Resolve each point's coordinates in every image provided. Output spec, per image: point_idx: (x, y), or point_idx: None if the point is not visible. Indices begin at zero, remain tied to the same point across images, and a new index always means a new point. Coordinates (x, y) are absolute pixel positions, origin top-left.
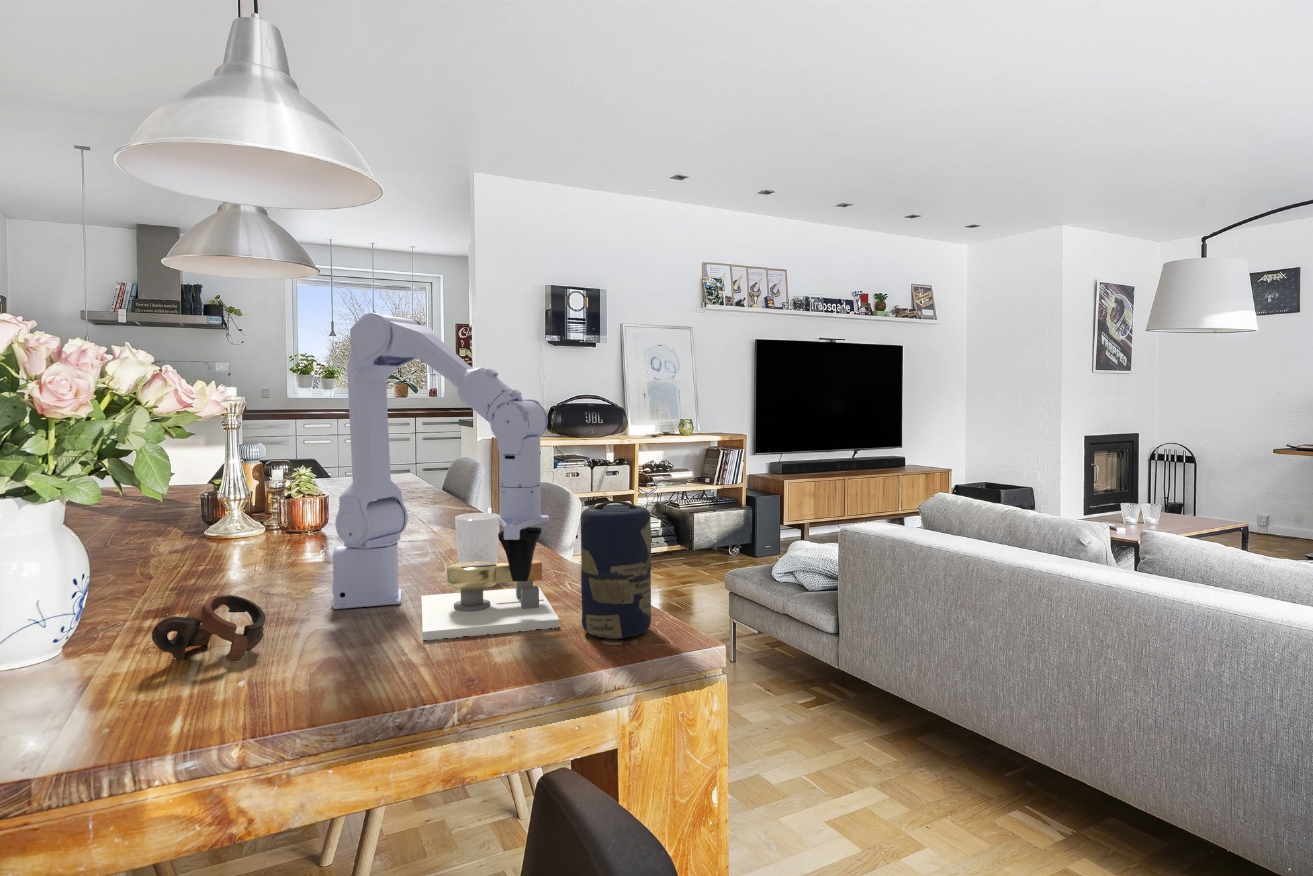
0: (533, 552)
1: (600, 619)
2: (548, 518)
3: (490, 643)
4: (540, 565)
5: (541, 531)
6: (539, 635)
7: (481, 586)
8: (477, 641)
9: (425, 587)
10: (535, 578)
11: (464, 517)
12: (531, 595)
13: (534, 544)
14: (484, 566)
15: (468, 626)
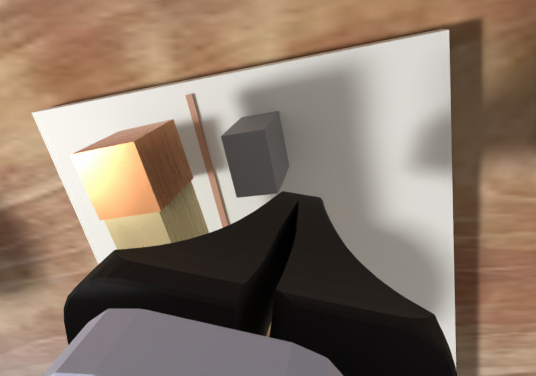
0: (243, 231)
1: None
2: (201, 362)
3: (532, 243)
4: (143, 145)
5: (150, 267)
6: (505, 101)
7: None
8: (499, 273)
9: (40, 360)
10: (177, 149)
11: None
12: (275, 150)
13: (353, 282)
14: None
15: (442, 309)
